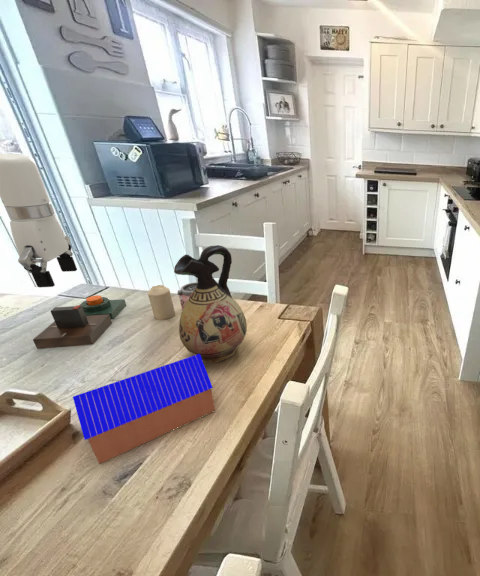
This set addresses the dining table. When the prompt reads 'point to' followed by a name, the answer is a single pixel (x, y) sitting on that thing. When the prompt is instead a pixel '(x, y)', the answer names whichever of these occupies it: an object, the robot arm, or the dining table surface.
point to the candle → (161, 302)
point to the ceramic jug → (210, 309)
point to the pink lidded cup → (186, 293)
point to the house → (144, 406)
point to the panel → (73, 333)
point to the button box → (104, 307)
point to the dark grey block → (69, 317)
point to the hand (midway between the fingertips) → (58, 278)
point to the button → (94, 300)
